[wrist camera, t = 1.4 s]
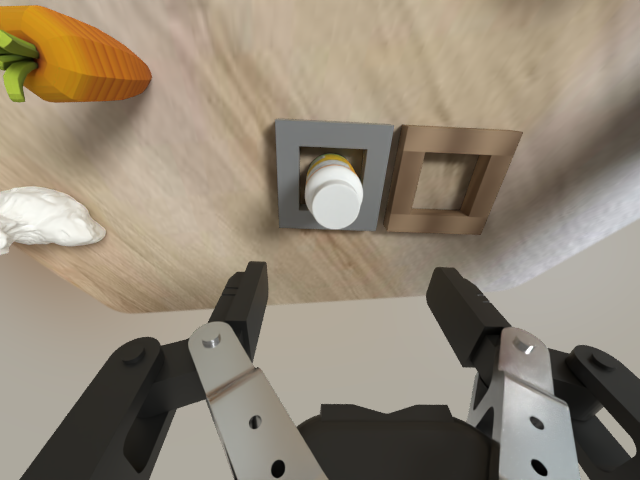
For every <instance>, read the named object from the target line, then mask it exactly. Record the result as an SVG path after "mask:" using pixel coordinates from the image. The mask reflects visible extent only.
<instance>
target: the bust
mask: <svg viewBox="0 0 640 480" xmlns="http://www.w3.org/2000/svg"><path fill="white" fill-rule="evenodd" d="M105 234H106V230H105V228H104V227H102V226H101V225H100V224H99V223H98V222H96V221H95V220H93V219H92V218H91V216H90V215H89V211H88V210H87V208H86V207H85V206H84V205H83V204H81V203H79V202H77V201H76V200H75V199H74V198H73V197H71V196H69V195H67V194H65V193H62V192H59V191H56V190H53V189H47V188H44V187H36V186H31V187H20V188H13V189H11V190H6V191H2V192H0V255H2V254H6V253H9V246H11V244H12V243H13V242H14V241H15V242H18V243H22V244H27V245H32V244H49V243H56V244H58V245H62V246H80V245H87V244H92V243H96V242H98V241H100V240H102V239H103V238H104V236H105Z"/></svg>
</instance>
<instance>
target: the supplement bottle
mask: <svg viewBox="0 0 640 480" xmlns="http://www.w3.org/2000/svg"><path fill="white" fill-rule="evenodd" d="M362 200H363V188H362V184H361V182H360V180H359V178H358V176H357V174H356V173H355V171H354V169H353V167H352V166H351V164H350V163H349V162H348V160H346V159H345V158H344V157H342V156H340V155H338V154H333V153H329V154H324V155H321V156H319V157H318V158H316V159H315V160H314V161H313V162H312V163H311V165H310V167H309V169H308V172H307V178H306V187H305V201H306V205H307V207H308V209H309V211H310V212H311V213H312V214H313V216H314V218H315V219H316V221H317V222H318V223H319V224H320V225H322V226H324V227H326V228H329V229H342V228H345V227H347V226H349V225H350V224H351V223H353V222H354V220H355V219H356V218H357V216H358V214H359V211H360V206H361V203H362Z"/></svg>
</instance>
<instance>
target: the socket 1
mask: <svg viewBox="0 0 640 480" xmlns="http://www.w3.org/2000/svg"><path fill="white" fill-rule="evenodd" d="M275 129H276V154H277V180H278V206H279V228H301V229H329V228H326V227H324V226H322V225H320V224H319V223H318V222H317V221H316V219H315V218H314V216H313V214H312V213H311V212H310V211H309V209H308V207H307V205H306V204H300V146H307V147H329V148H350V149H364V153H363V160H362V168H361V176H360V182H361V184H362V188H363V200H362V203H361V206H360V211H359V214H358V216H357V218H356V219H355V220H354V222H353V223H351V224H350V225H349V226H347V227H345V228H342V229H330V230H358V231H376V227H377V221H378V215H379V210H380V204H381V198H382V193H383V187H384V181H385V175H386V170H387V164H388V158H389V153H390V147H391V141H392V136H393V130H394V125H390V124H377V123H357V122H337V121H317V120H297V119H276V120H275Z"/></svg>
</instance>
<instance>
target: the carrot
mask: <svg viewBox="0 0 640 480" xmlns="http://www.w3.org/2000/svg"><path fill="white" fill-rule="evenodd" d="M0 69H1V70H6V72H5V73H4V75H3V78H4V84H5V87H6V90H7V93H8V95H9V97H10V99H11V100H12V101H13V102H25V97H24V92H23V86H25V87H26V88H27V89H29V90H30V91H32V92H33V93H34V94H36V95H37V96H39V97H40V98H41V99H43V100H45V101H48V102H55V103H56V102H91V101H113V100H124V99H127V98H130V97H134V96H136V95H139V94H141V93H142V92H143V91H144V90H145V89H146V88H147V86H148V84H149V82H150V80H151V78H152V75H151V72H150V70H149V68H148V66H147V65H146V64H145V63H144V62H143V61H142V60H141V59H140V58H139V57H138V56H136V55H135V54H134V53H133V52H132V51H131V50H130V49H128V48H127V47H126V46H125V45H123V44H122V43H120V42H119V41H117V40H115V39H114V38H112V37H111V36H109V35H107V34H106V33H104V32H102V31H101V30H99V29H97V28H95V27H93V26H90V25H88V24H86V23H83V22H81V21H79V20H76V19H74V18H71V17H69V16H66V15H64V14H61V13H58V12H56V11H53V10H50V9H48V8H45V7H42V6H37V5H35V6H0Z"/></svg>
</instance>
